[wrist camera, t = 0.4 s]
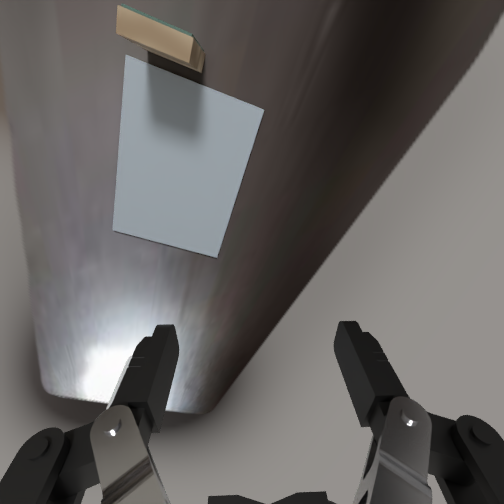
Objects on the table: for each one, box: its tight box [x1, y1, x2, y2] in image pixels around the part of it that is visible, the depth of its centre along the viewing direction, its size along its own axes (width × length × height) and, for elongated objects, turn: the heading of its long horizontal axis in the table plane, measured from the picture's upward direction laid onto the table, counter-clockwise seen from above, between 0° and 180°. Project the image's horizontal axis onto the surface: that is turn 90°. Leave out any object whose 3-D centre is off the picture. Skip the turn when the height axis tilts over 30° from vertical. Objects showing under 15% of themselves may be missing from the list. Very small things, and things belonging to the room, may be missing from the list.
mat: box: [113, 55, 264, 258], centre depth 34 cm, size 22×16×1 cm
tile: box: [116, 4, 205, 73], centre depth 24 cm, size 2×6×8 cm, turn 71°
